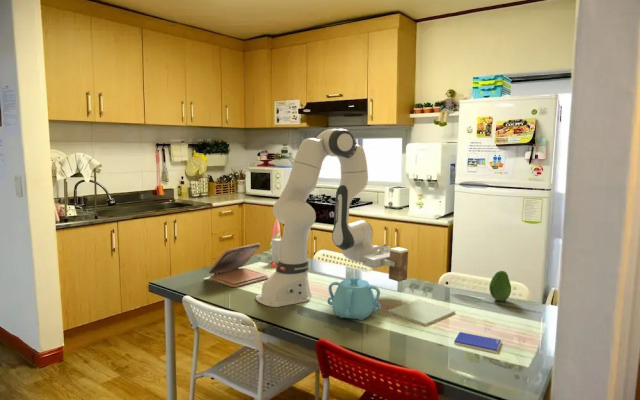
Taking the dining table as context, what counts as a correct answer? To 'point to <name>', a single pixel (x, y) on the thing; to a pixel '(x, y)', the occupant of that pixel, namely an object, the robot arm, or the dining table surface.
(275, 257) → the skincare box
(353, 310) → the decorative pot
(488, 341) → the hard drive
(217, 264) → the case
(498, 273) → the fruit
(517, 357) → the dining table surface
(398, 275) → the walnut block
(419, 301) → the sage mat
